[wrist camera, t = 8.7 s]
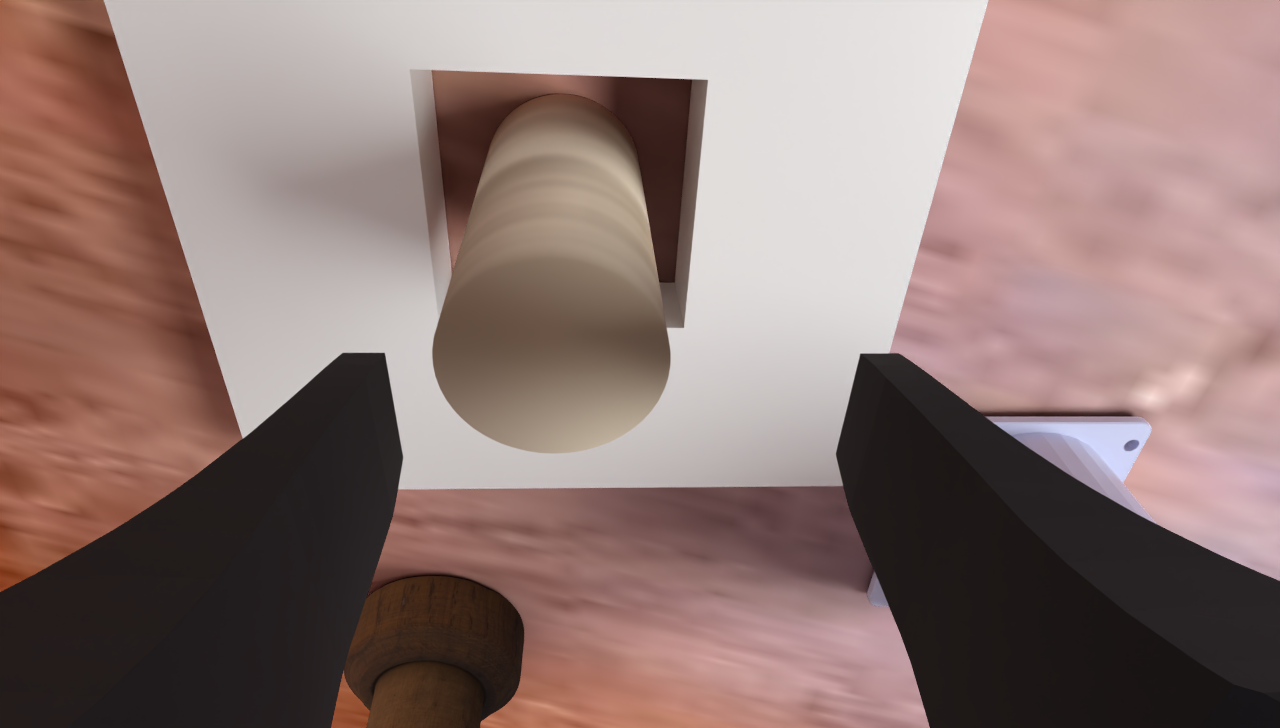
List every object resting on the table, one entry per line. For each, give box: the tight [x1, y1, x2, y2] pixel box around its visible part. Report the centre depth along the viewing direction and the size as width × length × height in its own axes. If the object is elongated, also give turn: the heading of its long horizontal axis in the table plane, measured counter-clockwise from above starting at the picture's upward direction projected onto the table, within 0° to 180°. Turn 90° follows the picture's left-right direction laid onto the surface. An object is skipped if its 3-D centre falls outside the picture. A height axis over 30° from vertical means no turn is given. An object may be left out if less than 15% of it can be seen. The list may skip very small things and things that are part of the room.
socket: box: [104, 0, 988, 489], centre depth 19 cm, size 18×18×2 cm
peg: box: [432, 94, 671, 454], centre depth 17 cm, size 4×4×9 cm
